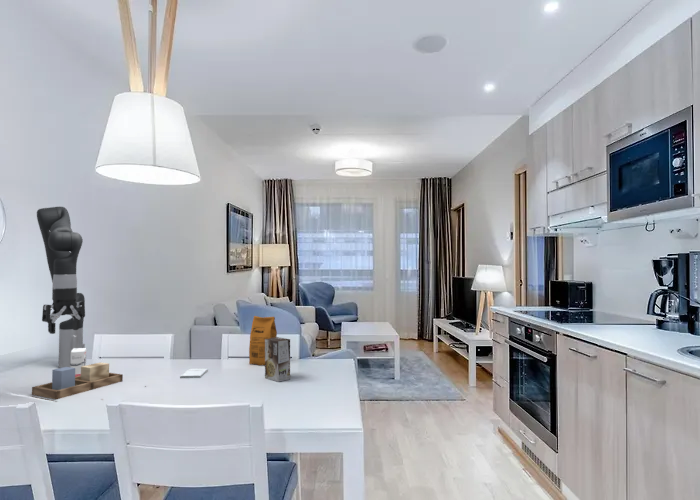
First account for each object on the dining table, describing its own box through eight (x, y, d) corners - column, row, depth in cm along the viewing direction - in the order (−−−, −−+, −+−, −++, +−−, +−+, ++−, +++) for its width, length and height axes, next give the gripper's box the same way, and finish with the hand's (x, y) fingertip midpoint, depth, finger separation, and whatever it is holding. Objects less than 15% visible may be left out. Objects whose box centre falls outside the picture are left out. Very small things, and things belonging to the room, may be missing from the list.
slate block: (65, 388, 164) (66, 366, 164) (74, 390, 161) (75, 368, 162) (51, 392, 159) (52, 369, 159) (61, 394, 157) (61, 371, 157)
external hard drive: (179, 379, 182) (188, 372, 195) (200, 379, 183) (207, 372, 195) (179, 375, 182) (188, 368, 195) (200, 375, 183) (207, 368, 195)
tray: (99, 379, 180) (99, 371, 180) (122, 383, 175) (122, 374, 175) (31, 396, 157) (32, 387, 157) (56, 401, 151) (56, 391, 151)
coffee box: (290, 379, 181) (291, 339, 181) (278, 382, 176) (278, 341, 177) (276, 375, 187) (277, 336, 188) (264, 378, 182) (264, 338, 183)
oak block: (100, 380, 176) (100, 362, 176) (108, 381, 174) (109, 363, 174) (80, 385, 169) (80, 366, 169) (89, 386, 167) (89, 367, 167)
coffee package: (256, 360, 217) (256, 314, 217) (279, 362, 213) (279, 315, 213) (245, 364, 207) (245, 316, 208) (269, 366, 203) (269, 317, 204)
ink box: (84, 380, 179) (84, 350, 179) (69, 381, 177) (70, 351, 177) (86, 375, 187) (86, 347, 187) (72, 376, 184) (72, 348, 185)
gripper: (76, 285, 170) (76, 328, 170) (37, 287, 157) (37, 334, 157) (90, 286, 167) (89, 329, 167) (51, 288, 154) (50, 335, 154)
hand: (64, 331), depth 162 cm, fingers open, 8 cm apart
